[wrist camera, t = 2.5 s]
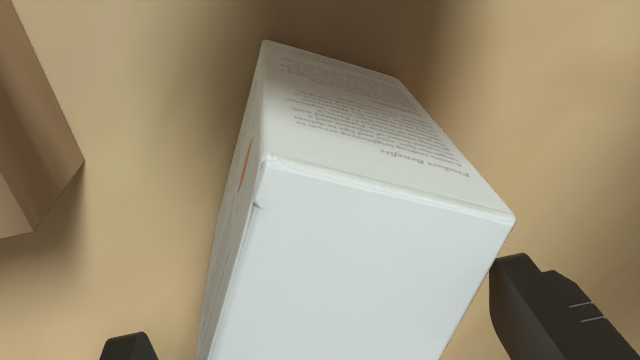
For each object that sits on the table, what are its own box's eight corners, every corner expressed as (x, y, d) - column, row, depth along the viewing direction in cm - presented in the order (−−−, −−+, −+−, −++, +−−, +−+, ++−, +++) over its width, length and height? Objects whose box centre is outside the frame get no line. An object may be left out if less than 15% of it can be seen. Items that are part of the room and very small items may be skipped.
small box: (337, 240, 23) (388, 464, 14) (214, 215, 21) (178, 442, 12) (402, 74, 19) (530, 221, 10) (262, 32, 18) (262, 156, 9)
